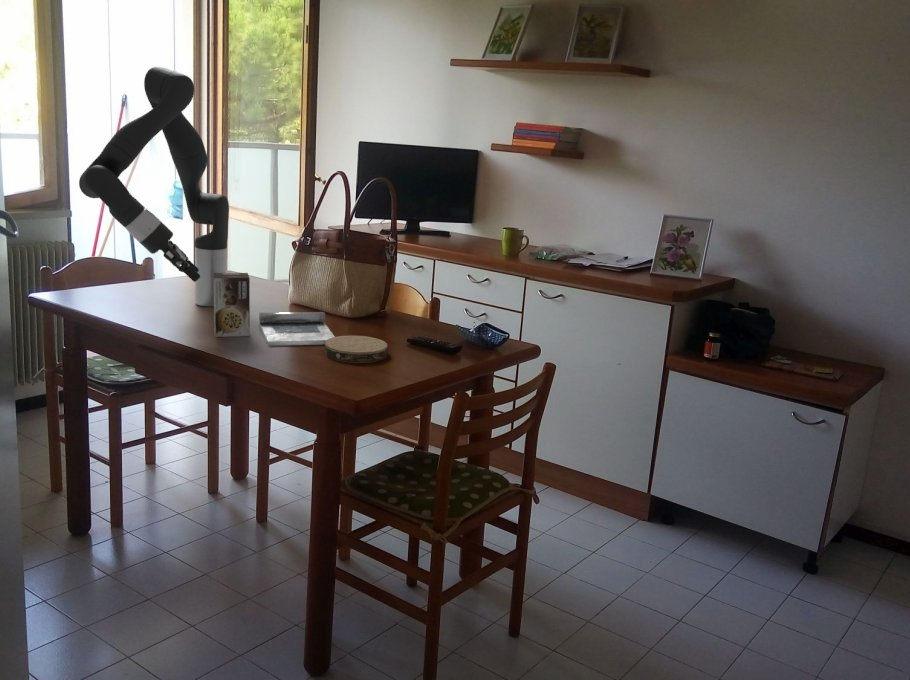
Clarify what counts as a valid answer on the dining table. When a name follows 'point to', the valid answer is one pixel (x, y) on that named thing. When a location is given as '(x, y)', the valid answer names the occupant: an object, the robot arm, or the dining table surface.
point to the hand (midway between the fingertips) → (197, 275)
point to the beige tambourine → (355, 349)
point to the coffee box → (231, 304)
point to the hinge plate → (294, 328)
